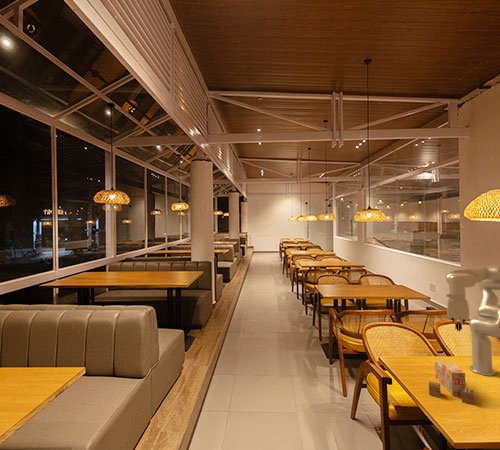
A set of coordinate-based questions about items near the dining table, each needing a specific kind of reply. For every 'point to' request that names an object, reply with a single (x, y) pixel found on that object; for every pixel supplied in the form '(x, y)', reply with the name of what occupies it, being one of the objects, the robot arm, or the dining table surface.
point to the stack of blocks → (450, 377)
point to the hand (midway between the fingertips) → (458, 330)
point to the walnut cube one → (434, 389)
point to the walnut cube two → (467, 396)
